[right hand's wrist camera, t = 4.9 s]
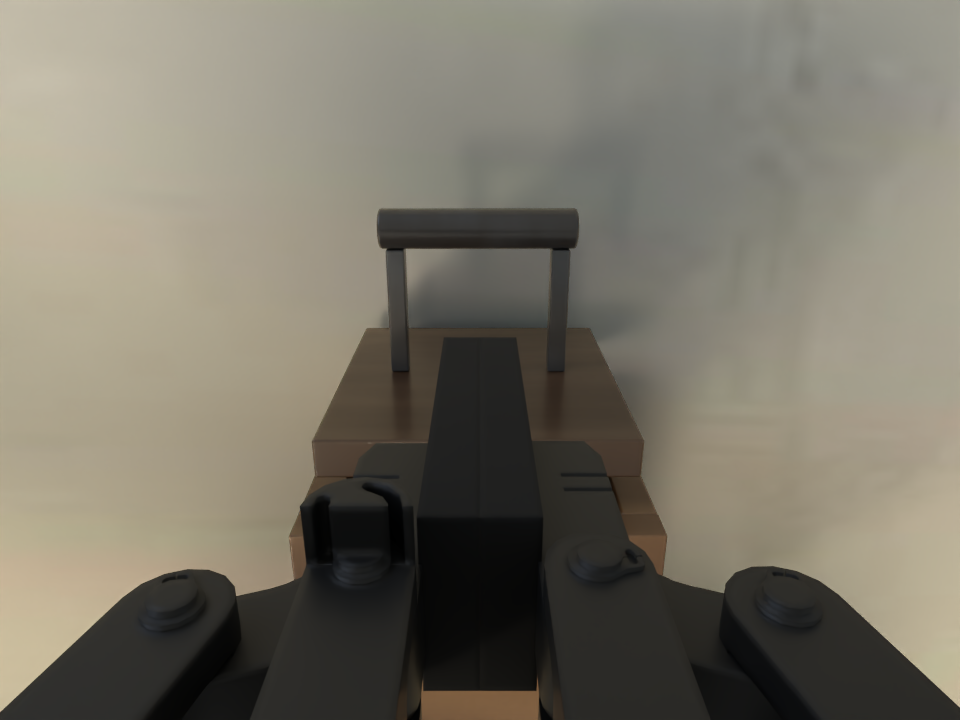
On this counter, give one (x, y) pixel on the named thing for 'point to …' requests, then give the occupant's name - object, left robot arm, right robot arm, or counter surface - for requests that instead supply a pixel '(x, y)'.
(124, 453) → the counter surface
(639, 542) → the cabinet
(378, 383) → the drawer
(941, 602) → the counter surface
